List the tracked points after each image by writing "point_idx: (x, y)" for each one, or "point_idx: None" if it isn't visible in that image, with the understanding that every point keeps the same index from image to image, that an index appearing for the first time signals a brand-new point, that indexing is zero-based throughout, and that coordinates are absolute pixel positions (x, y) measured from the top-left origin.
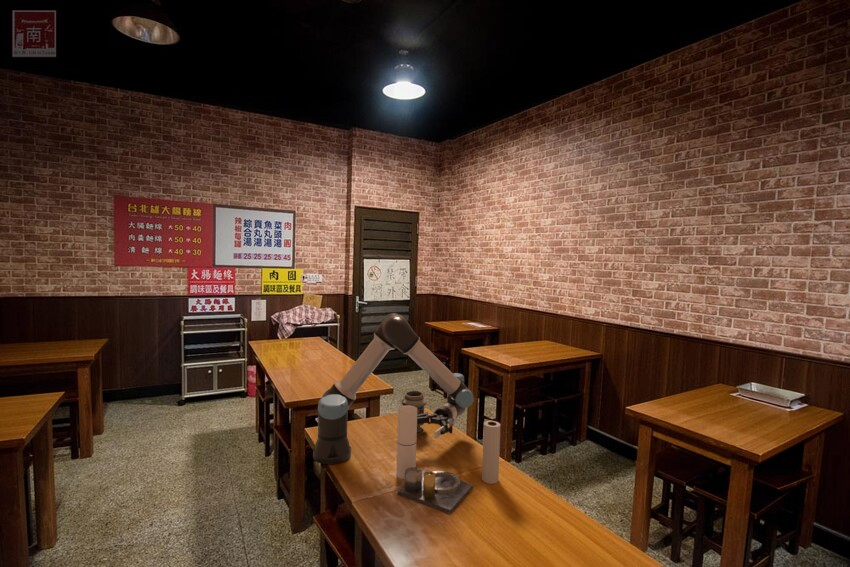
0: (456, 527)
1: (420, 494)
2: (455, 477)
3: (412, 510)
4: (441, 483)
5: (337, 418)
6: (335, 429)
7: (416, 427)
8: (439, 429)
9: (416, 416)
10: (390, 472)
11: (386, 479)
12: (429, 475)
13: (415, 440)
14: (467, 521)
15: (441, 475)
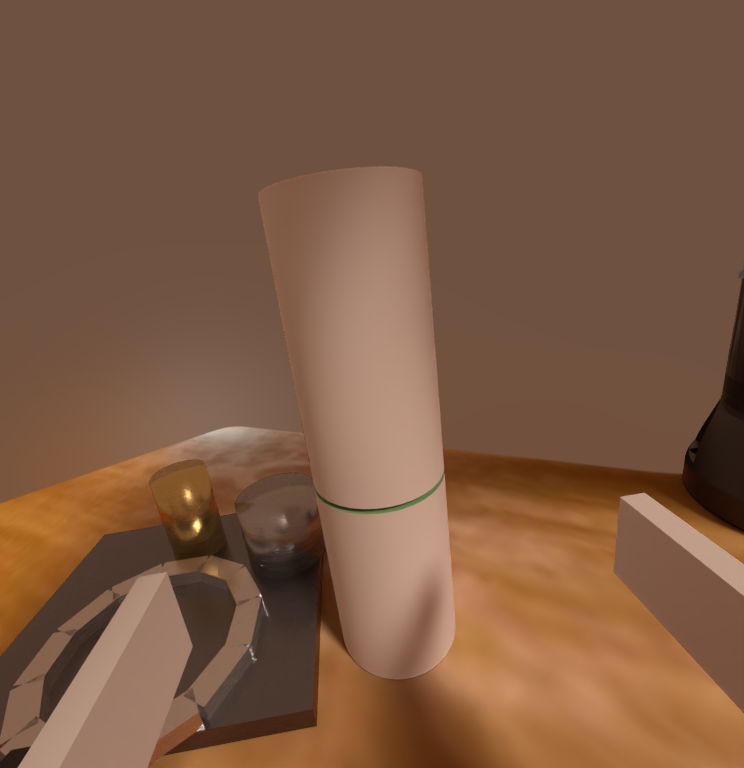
0: (89, 519)
1: (235, 529)
2: (34, 732)
3: None
4: None
5: (742, 277)
6: (733, 335)
7: (288, 351)
8: (79, 674)
9: (269, 254)
10: (474, 581)
11: None
12: (176, 468)
13: (304, 437)
14: (42, 553)
15: None
